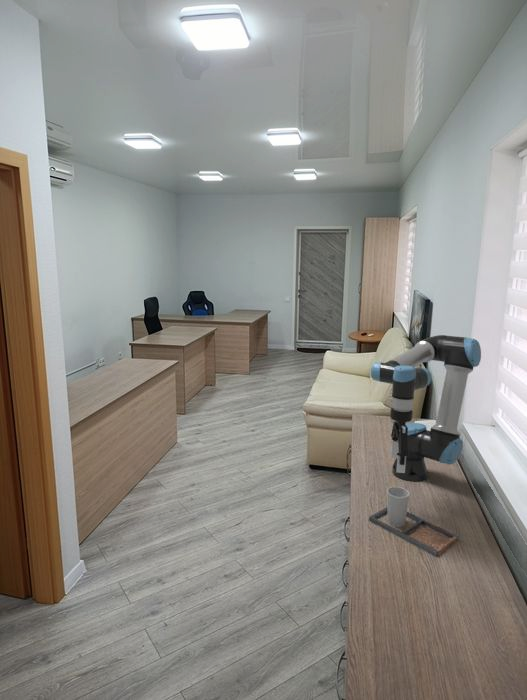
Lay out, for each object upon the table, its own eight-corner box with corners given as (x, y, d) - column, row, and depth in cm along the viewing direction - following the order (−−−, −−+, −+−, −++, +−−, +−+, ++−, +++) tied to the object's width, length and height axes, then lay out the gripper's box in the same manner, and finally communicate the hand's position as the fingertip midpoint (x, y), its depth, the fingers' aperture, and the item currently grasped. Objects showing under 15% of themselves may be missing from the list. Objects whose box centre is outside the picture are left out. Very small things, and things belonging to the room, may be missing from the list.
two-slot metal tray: (368, 520, 165) (369, 516, 165) (391, 507, 174) (391, 504, 174) (436, 556, 145) (436, 552, 145) (458, 540, 153) (458, 536, 153)
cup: (408, 529, 160) (410, 498, 158) (385, 526, 161) (387, 496, 159) (406, 517, 167) (408, 487, 165) (384, 515, 169) (386, 485, 167)
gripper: (386, 399, 173) (382, 451, 177) (396, 418, 149) (392, 478, 152) (406, 400, 172) (401, 452, 176) (420, 420, 148) (415, 480, 151)
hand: (397, 464), depth 164 cm, fingers open, 13 cm apart
